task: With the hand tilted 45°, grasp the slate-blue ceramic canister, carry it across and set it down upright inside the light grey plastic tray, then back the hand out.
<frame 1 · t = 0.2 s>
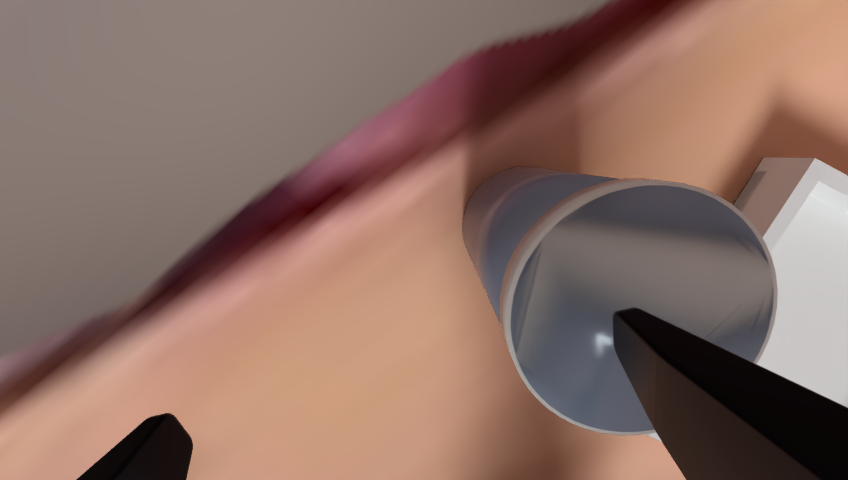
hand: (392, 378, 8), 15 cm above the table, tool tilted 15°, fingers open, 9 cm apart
tray: (782, 333, 25), on the table
canister: (521, 226, 23), on the table
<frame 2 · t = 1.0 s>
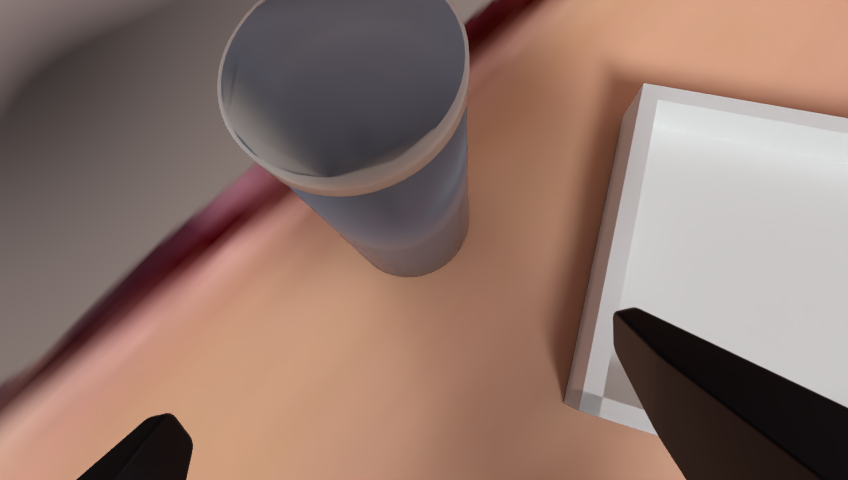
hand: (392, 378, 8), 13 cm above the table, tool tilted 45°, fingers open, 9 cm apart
tray: (741, 283, 21), on the table
canister: (410, 219, 23), on the table
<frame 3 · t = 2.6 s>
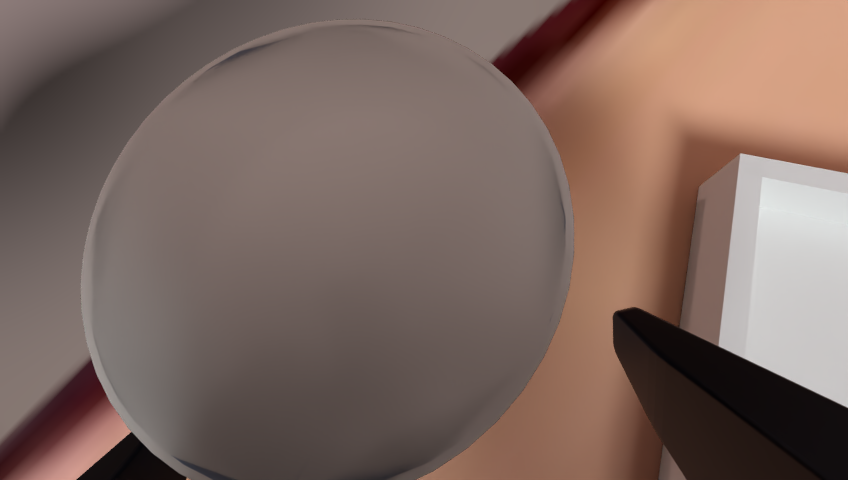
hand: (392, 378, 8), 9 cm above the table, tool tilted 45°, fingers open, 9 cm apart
canister: (424, 321, 18), on the table
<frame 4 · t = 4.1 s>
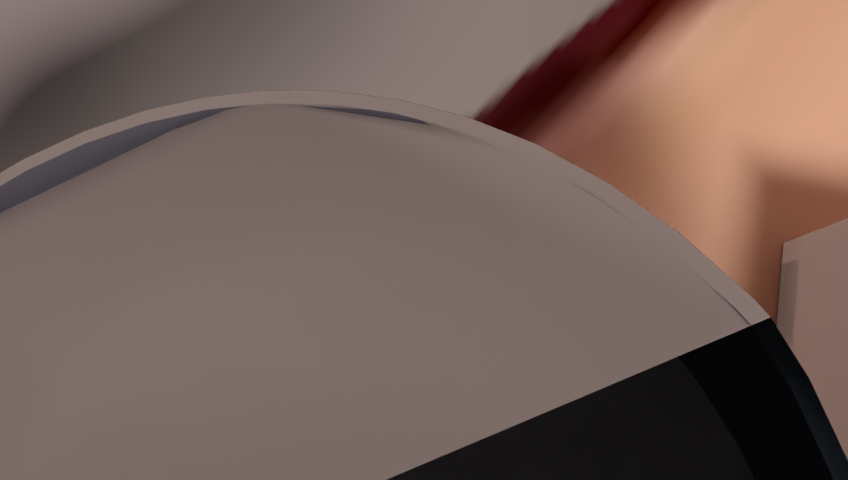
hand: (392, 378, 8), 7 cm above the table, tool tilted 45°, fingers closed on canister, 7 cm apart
canister: (436, 414, 14), on the table, touching gripper
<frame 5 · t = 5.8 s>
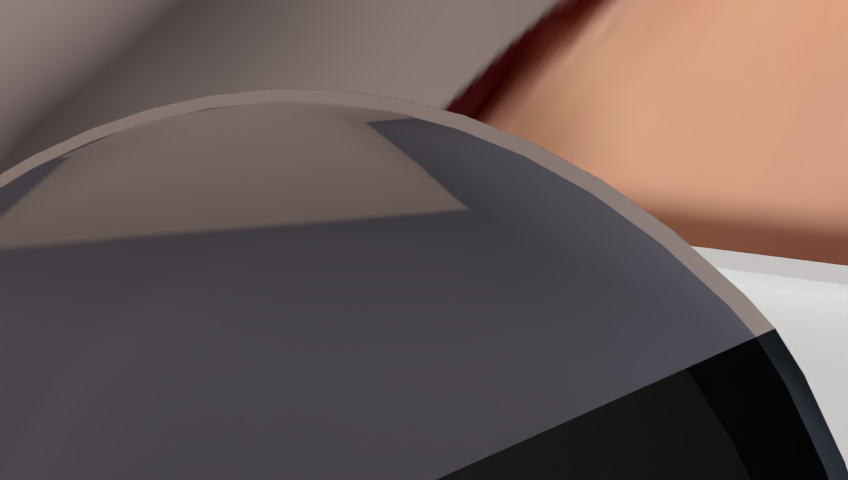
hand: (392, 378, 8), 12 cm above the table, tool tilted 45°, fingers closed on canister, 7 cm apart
tray: (749, 455, 18), on the table
canister: (438, 414, 14), point 6 cm above the table, touching gripper
when the fingers open (9 cm above the table, at t = 8.0 s): canister drops 1 cm, resting on tray.
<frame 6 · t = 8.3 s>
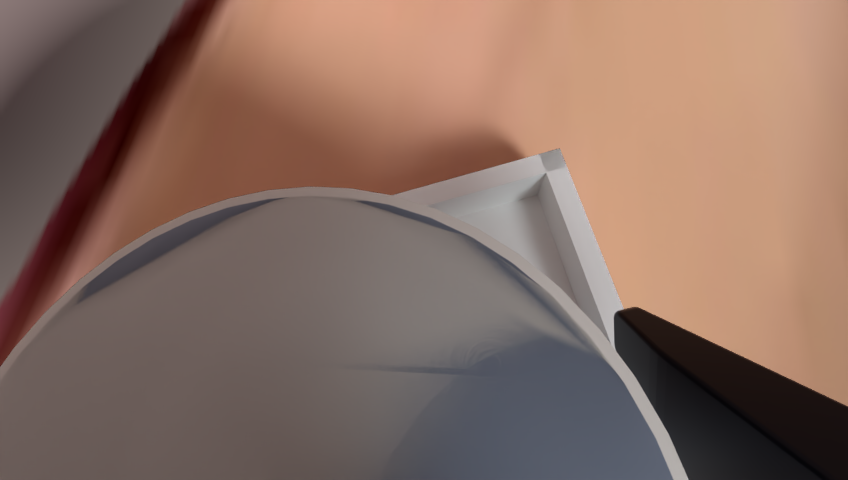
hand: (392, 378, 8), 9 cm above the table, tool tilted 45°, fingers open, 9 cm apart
tray: (441, 406, 16), on the table
canister: (441, 411, 16), point 1 cm above the table, touching tray
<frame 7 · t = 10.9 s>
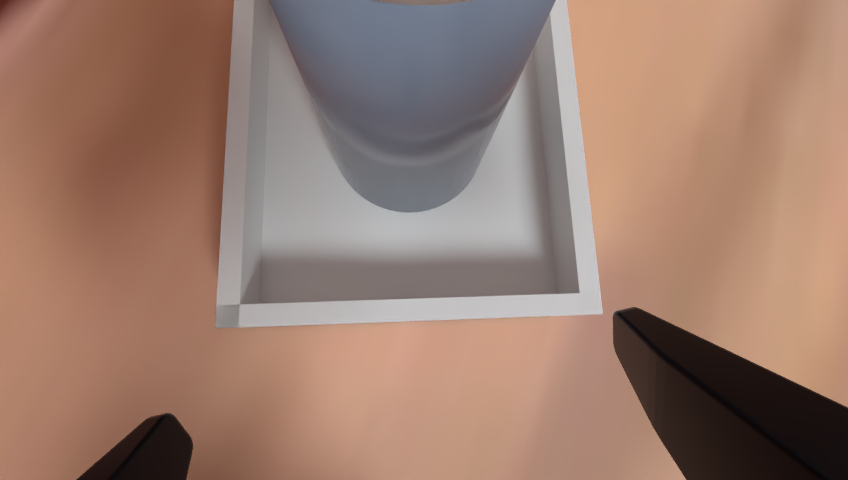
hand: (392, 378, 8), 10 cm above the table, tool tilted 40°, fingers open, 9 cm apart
tray: (407, 146, 19), on the table
canister: (408, 141, 19), point 1 cm above the table, touching tray
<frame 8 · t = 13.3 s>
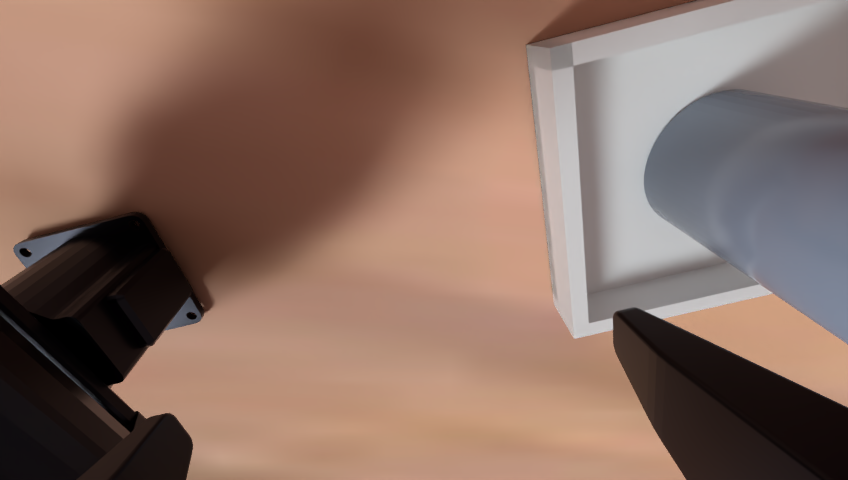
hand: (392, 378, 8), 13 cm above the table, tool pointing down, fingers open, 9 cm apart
tray: (701, 155, 20), on the table
canister: (711, 162, 20), point 1 cm above the table, touching tray
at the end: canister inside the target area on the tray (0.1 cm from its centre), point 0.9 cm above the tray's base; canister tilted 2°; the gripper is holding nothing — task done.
